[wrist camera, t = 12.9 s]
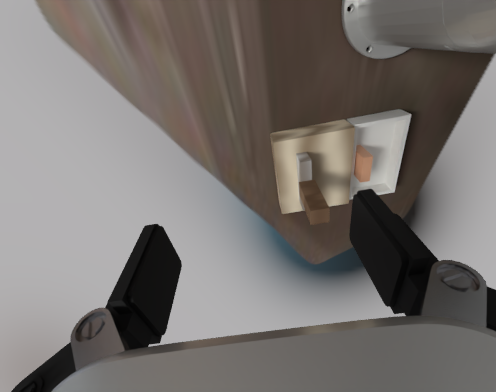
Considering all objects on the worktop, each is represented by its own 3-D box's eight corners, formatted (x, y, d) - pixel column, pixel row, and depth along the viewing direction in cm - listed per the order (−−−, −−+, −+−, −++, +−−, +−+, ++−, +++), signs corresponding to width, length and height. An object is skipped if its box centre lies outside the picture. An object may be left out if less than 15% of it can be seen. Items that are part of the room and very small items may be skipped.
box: (399, 108, 36) (411, 114, 34) (385, 183, 44) (394, 192, 42) (346, 118, 37) (354, 125, 34) (342, 190, 45) (348, 199, 42)
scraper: (308, 151, 36) (330, 186, 27) (310, 198, 41) (328, 239, 32) (293, 153, 36) (309, 189, 28) (296, 200, 41) (311, 242, 33)
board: (344, 119, 37) (355, 127, 34) (340, 190, 45) (348, 203, 42) (270, 133, 38) (273, 142, 35) (279, 201, 46) (282, 214, 43)
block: (351, 146, 39) (360, 144, 39) (349, 169, 42) (357, 167, 41) (363, 157, 35) (373, 156, 35) (360, 182, 38) (369, 181, 38)
